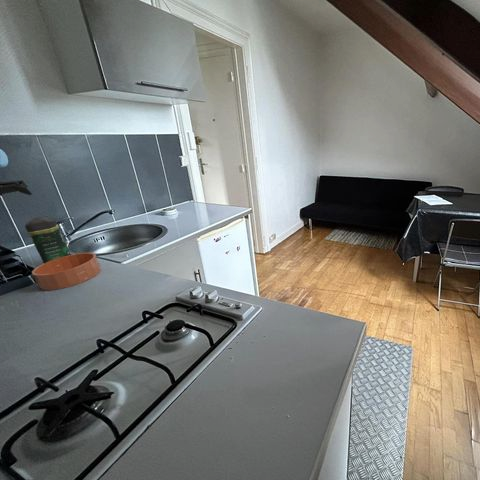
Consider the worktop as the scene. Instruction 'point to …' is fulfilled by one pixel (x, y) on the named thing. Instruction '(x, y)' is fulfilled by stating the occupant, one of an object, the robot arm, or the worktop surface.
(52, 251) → the coffee jar
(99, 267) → the bowl
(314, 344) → the worktop surface
